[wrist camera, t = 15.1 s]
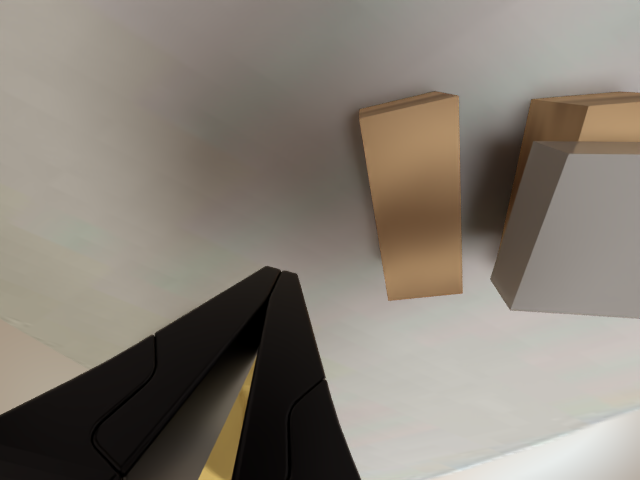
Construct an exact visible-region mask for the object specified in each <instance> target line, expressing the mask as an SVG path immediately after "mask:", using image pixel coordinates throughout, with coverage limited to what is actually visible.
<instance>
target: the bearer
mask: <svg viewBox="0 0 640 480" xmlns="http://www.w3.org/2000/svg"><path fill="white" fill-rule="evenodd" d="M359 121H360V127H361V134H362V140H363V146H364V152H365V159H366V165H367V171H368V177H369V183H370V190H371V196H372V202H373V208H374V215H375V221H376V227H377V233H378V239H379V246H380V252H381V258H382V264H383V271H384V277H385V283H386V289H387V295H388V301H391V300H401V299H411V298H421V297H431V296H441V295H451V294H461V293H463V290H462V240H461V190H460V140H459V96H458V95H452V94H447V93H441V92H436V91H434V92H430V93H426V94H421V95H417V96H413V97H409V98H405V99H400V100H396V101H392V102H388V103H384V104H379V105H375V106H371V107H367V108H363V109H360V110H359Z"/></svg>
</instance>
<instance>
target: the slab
mask: <svg viewBox="0 0 640 480" xmlns="http://www.w3.org/2000/svg"><path fill="white" fill-rule="evenodd" d="M490 280H491V281H492V283H493V284H494V286H495V288H496V289H497V291H498V292H499V294H500V295H501V297H502V298H503V300H504V301H505V303H506V304H507V306H508V307H509V309H510V310H512V311H528V312H544V313H559V314H575V315H590V316H606V317H622V318H637V319H640V142H594V141H533V144H532V147H531V150H530V154H529V157H528V160H527V163H526V166H525V170H524V173H523V176H522V179H521V182H520V186H519V189H518V192H517V195H516V198H515V202H514V205H513V208H512V211H511V214H510V218H509V221H508V224H507V227H506V230H505V234H504V237H503V240H502V243H501V246H500V250H499V253H498V256H497V259H496V262H495V266H494V269H493V272H492V275H491V279H490Z"/></svg>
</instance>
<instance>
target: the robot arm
mask: <svg viewBox="0 0 640 480" xmlns="http://www.w3.org/2000/svg"><path fill="white" fill-rule="evenodd" d="M256 356H257V357H256ZM255 358H256V361H255V366H254V371H253V376H252V381H251V386H250V391H249V395H248V400H247V405H246V410H245V415H244V420H243V425H242V429H241V434H240V439H239V444H238V449H237V454H236V459H235V463H234V468H233V473H232V478H231V480H361V478H360V475H359V473H358V471H357V468H356V466H355V463H354V461H353V458H352V456H351V453H350V450H349V448H348V445H347V442H346V440H345V437H344V434H343V432H342V429H341V426H340V424H339V420H338V417H337V414H336V411H335V408H334V404H333V401H332V398H331V394H330V391H329V387H328V383H327V381H326V380H325V378H326V377H325V373H324V369H323V366H322V362H321V358H320V355H319V351H318V347H317V344H316V340H315V336H314V333H313V329H312V325H311V322H310V318H309V314H308V311H307V307H306V303H305V300H304V296H303V292H302V289H301V285H300V281H299V278H298V275H297V274H296V273H292V272H288V271H282V272H281V270H280V269H277V268H273V267H269V266H265V267H263V268H262V269H260V270H259V271H257V272H255V273H254V274H252V275H250V276H249V277H247V278H245V279H244V280H242V281H240V282H239V283H237V284H235V285H234V286H232V287H230V288H229V289H227V290H225V291H224V292H222V293H220V294H219V295H217V296H215V297H214V298H212V299H210V300H209V301H207V302H205V303H204V304H202V305H200V306H199V307H197V308H195V309H194V310H192V311H190V312H189V313H187V314H185V315H184V316H182V317H181V318H179V319H177V320H176V321H174V322H172V323H171V324H169V325H167V326H166V327H164V328H162V329H161V330H159V331H157V332H156V333H155V336H154V335H150V336H149V337H147V338H145V339H144V340H142V341H140V342H139V343H137V344H135V345H134V346H132V347H130V348H128V349H127V350H125V351H123V352H121V353H120V354H118V355H116V356H114V357H113V358H111V359H109V360H107V361H106V362H104V363H102V364H100V365H98V366H96V367H94V368H92V369H90V370H89V371H87V372H85V373H83V374H81V375H79V376H77V377H75V378H74V379H72V380H70V381H67V382H65V383H63V384H61V385H59V386H57V387H56V388H54V389H51V390H49V391H47V392H45V393H43V394H41V395H39V396H38V397H35V398H33V399H31V400H29V401H27V402H25V403H23V404H21V405H19V406H17V407H16V408H13V409H11V410H9V411H7V412H5V413H3V414H1V415H0V480H198V479H199V477H200V475H201V472H202V470H203V468H204V466H205V464H206V462H207V460H208V458H209V456H210V453H211V451H212V449H213V447H214V445H215V443H216V441H217V439H218V437H219V434H220V432H221V430H222V428H223V426H224V424H225V422H226V420H227V418H228V415H229V413H230V411H231V409H232V407H233V405H234V403H235V401H236V399H237V396H238V394H239V392H240V390H241V388H242V386H243V384H244V382H245V380H246V377H247V375H248V373H249V371H250V369H251V367H252V365H253V363H254V360H255Z"/></svg>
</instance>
